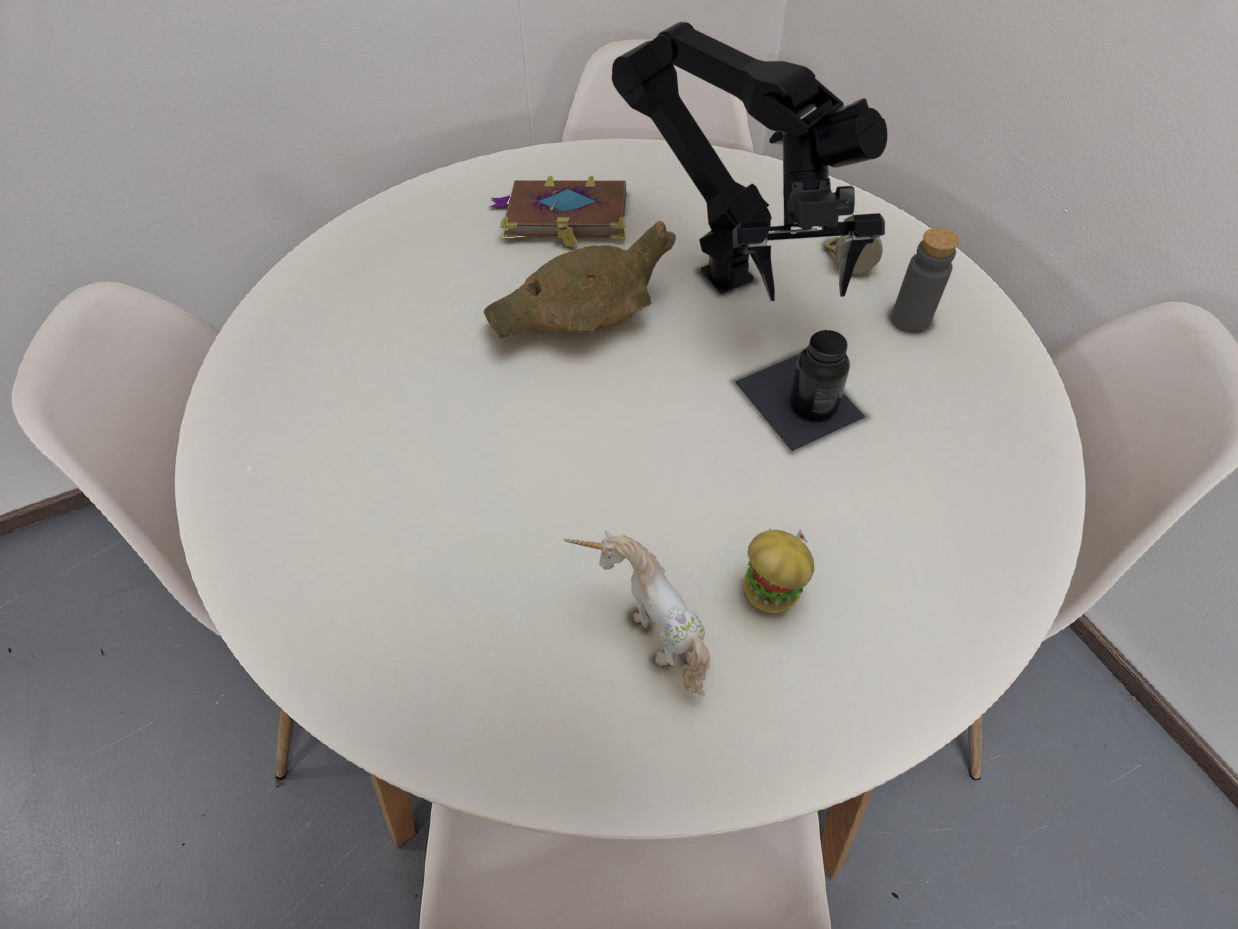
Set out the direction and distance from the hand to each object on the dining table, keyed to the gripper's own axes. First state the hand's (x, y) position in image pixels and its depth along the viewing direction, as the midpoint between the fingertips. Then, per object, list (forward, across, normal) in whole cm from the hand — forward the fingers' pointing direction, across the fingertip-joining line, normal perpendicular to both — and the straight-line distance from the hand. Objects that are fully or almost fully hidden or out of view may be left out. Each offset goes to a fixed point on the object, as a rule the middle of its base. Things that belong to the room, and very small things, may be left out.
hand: (807, 298), depth 101 cm
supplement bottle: (+14, +1, +3) cm, 15 cm away
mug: (-6, +13, +26) cm, 29 cm away
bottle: (+4, +19, +15) cm, 24 cm away
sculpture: (0, -31, +17) cm, 35 cm away
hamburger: (+34, -8, -18) cm, 39 cm away
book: (-16, -36, +34) cm, 52 cm away
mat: (+14, -1, +4) cm, 14 cm away
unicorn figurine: (+37, -25, -22) cm, 50 cm away
